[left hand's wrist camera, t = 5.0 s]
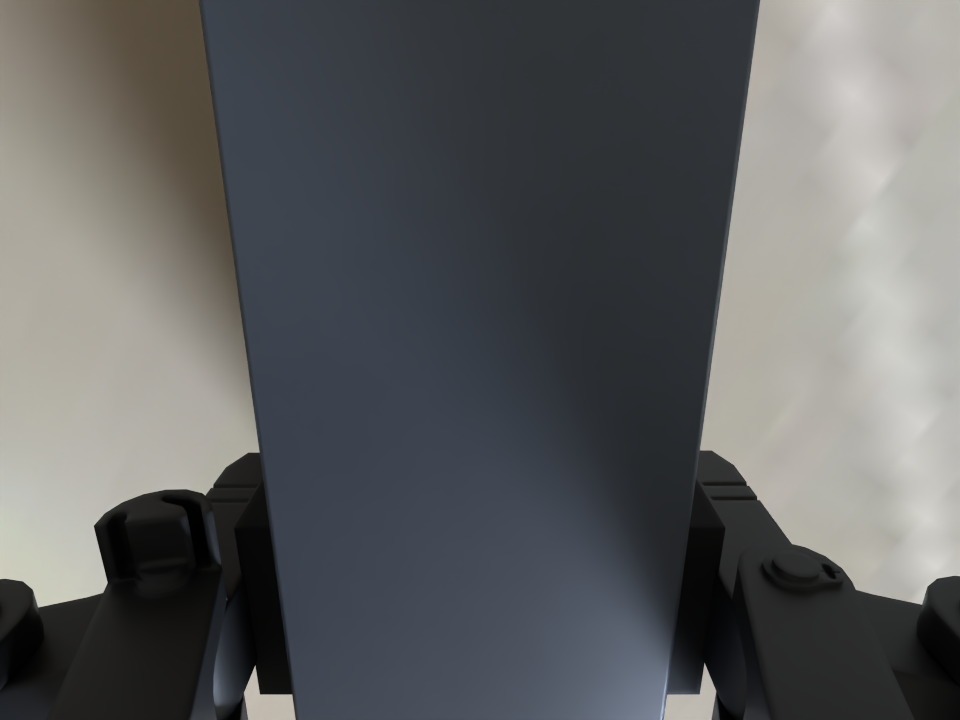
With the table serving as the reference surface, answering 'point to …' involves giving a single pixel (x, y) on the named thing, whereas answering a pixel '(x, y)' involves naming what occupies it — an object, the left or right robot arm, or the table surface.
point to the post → (479, 334)
